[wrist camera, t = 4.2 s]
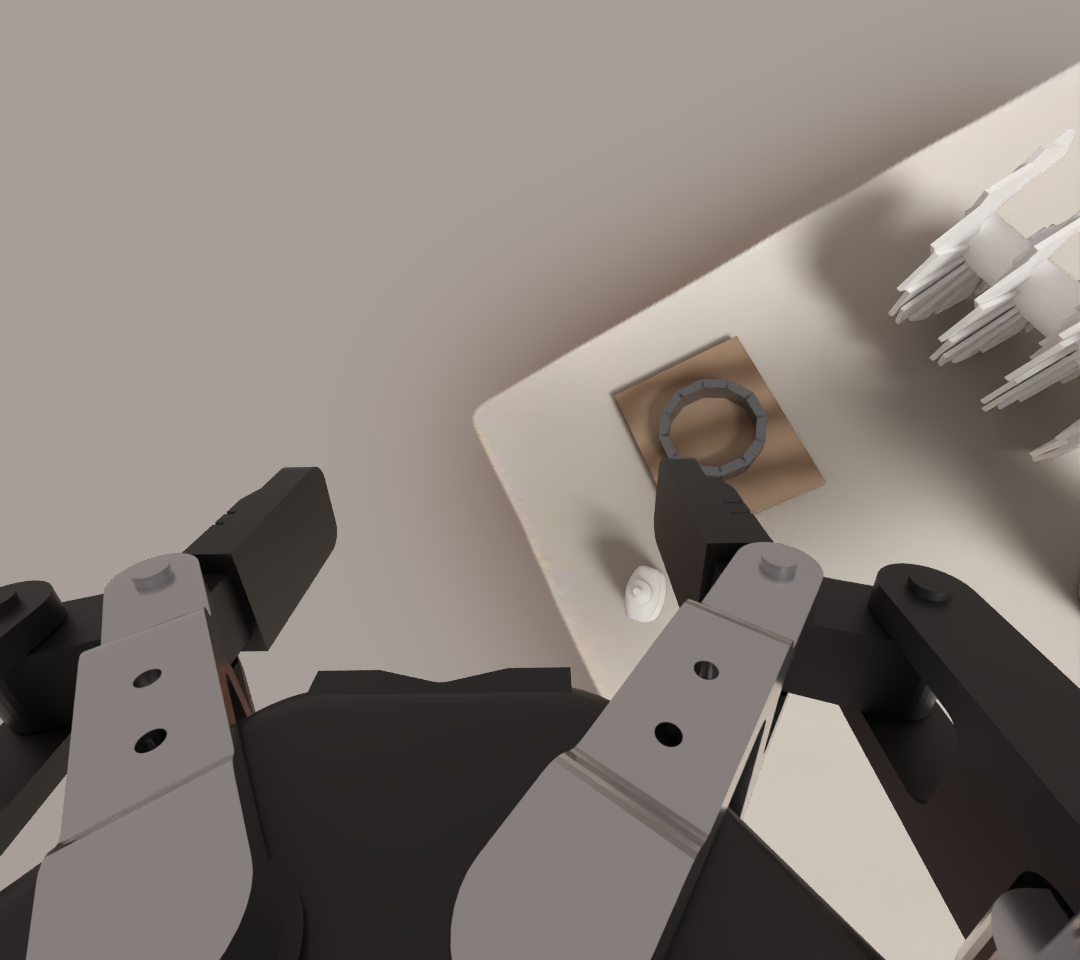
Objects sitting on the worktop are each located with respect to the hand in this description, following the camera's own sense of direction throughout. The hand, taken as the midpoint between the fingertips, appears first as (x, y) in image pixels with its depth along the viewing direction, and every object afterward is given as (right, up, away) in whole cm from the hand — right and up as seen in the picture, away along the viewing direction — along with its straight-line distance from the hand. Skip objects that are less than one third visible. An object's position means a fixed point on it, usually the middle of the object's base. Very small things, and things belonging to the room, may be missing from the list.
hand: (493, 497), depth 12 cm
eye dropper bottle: (+14, -13, +45) cm, 49 cm away
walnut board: (+21, +5, +47) cm, 52 cm away
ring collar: (+21, +6, +46) cm, 51 cm away
